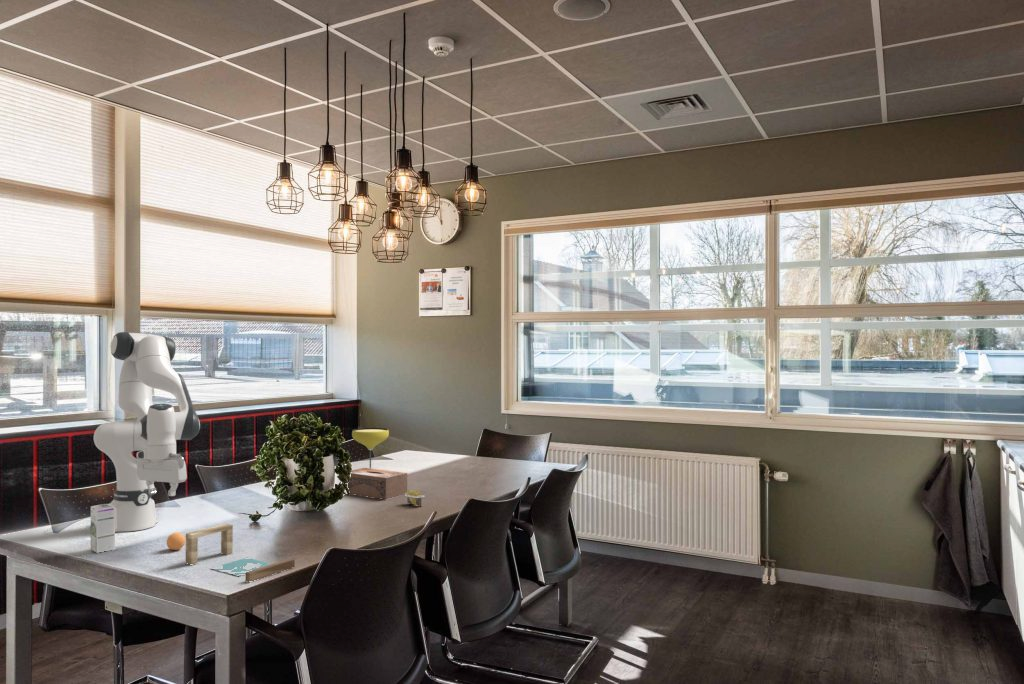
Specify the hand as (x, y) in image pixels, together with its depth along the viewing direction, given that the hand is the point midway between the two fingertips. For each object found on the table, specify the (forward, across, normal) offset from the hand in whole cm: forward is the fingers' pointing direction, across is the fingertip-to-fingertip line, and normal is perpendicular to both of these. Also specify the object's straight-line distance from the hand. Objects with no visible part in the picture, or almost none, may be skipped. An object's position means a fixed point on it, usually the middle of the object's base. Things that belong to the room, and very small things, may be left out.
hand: (162, 494), depth 234 cm
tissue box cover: (+18, -10, -101) cm, 103 cm away
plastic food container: (+19, -38, -90) cm, 99 cm away
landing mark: (+19, -39, +3) cm, 44 cm away
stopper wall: (+19, -52, +4) cm, 55 cm away
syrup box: (+17, +14, +11) cm, 25 cm away
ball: (+15, -6, 0) cm, 16 cm away
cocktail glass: (+17, +13, -127) cm, 129 cm away
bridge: (+18, -24, +1) cm, 30 cm away
